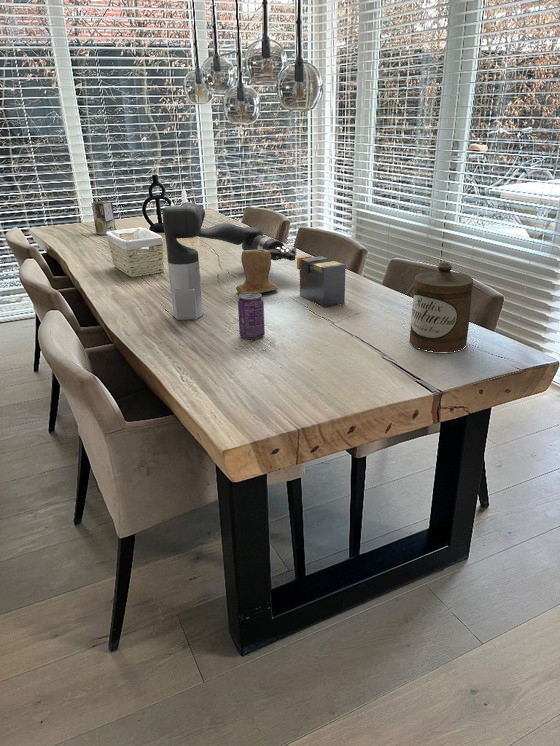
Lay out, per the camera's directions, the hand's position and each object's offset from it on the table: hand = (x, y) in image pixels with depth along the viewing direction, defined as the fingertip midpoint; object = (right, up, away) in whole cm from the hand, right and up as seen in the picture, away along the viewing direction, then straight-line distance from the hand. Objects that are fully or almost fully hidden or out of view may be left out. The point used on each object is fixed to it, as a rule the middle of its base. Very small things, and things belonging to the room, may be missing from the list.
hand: (293, 257), depth 204 cm
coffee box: (-97, +32, +99) cm, 142 cm away
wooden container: (+38, -33, -49) cm, 70 cm away
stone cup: (-14, -13, -2) cm, 19 cm away
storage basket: (-62, +1, +29) cm, 69 cm away
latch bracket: (+9, -16, -12) cm, 22 cm away
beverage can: (-13, -31, -41) cm, 53 cm away
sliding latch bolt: (+7, -8, -12) cm, 16 cm away
